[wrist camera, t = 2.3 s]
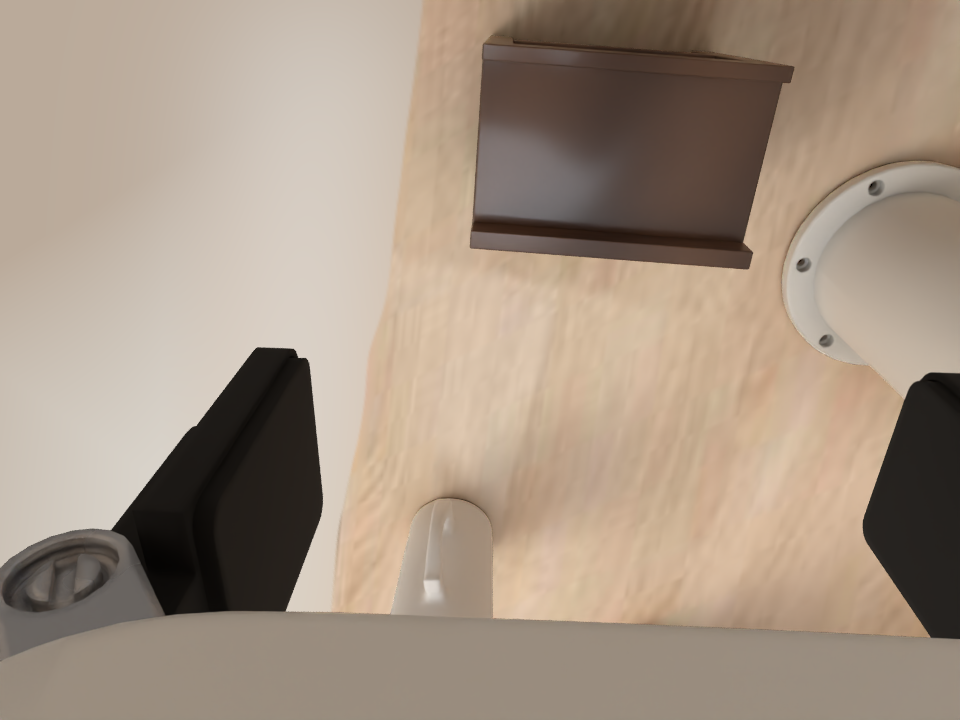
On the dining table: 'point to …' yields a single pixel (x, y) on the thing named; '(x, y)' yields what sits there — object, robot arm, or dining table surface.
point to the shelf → (620, 151)
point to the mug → (447, 563)
